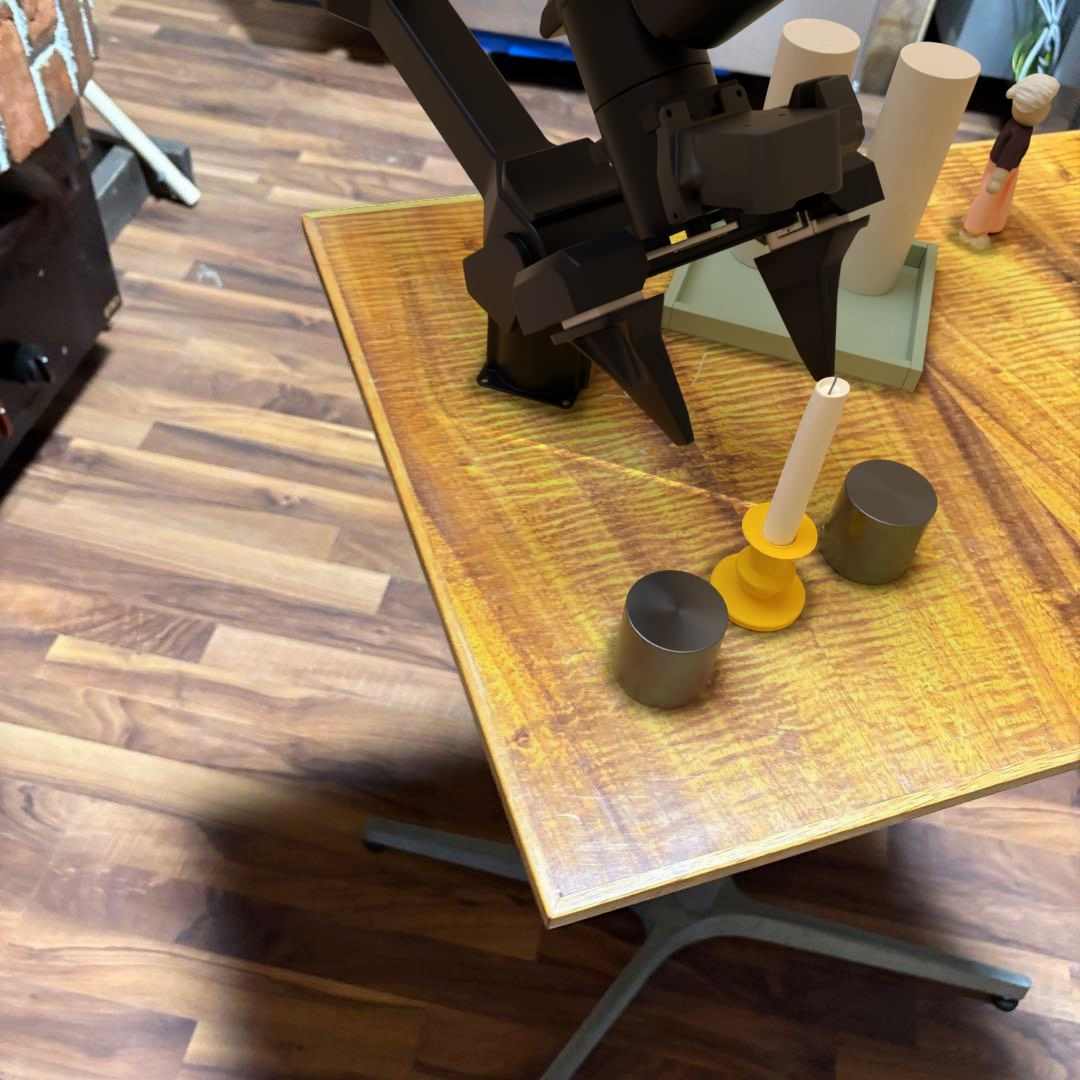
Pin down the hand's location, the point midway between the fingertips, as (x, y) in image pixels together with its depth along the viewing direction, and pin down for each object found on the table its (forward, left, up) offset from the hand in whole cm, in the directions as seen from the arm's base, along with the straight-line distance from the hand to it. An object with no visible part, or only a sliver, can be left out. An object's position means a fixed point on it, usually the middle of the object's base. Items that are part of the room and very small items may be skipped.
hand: (758, 411), depth 50 cm
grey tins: (+3, -2, -11) cm, 11 cm away
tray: (+1, +26, -11) cm, 28 cm away
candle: (+3, -2, -11) cm, 11 cm away
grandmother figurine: (+13, +41, -11) cm, 44 cm away
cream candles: (+1, +30, -10) cm, 32 cm away
